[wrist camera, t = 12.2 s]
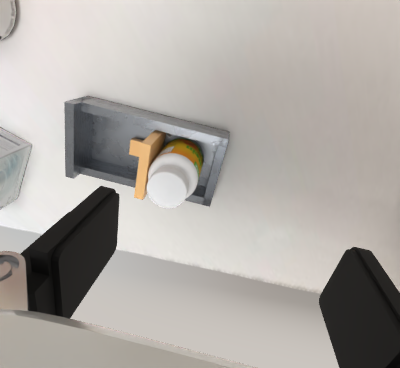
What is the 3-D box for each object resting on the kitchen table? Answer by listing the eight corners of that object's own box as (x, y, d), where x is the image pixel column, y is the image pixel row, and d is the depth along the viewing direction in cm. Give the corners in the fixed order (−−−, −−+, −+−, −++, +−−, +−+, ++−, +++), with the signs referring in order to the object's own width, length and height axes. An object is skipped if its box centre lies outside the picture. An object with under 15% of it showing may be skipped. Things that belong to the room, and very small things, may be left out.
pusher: (166, 128, 32) (150, 145, 25) (158, 174, 35) (142, 199, 28) (135, 120, 32) (111, 135, 25) (130, 167, 35) (107, 190, 28)
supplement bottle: (211, 164, 33) (205, 201, 25) (177, 182, 35) (160, 222, 26) (189, 128, 32) (173, 154, 23) (154, 149, 33) (128, 181, 25)
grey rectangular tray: (229, 131, 32) (228, 143, 27) (211, 193, 36) (208, 212, 31) (87, 95, 32) (64, 101, 27) (86, 161, 36) (65, 176, 31)
